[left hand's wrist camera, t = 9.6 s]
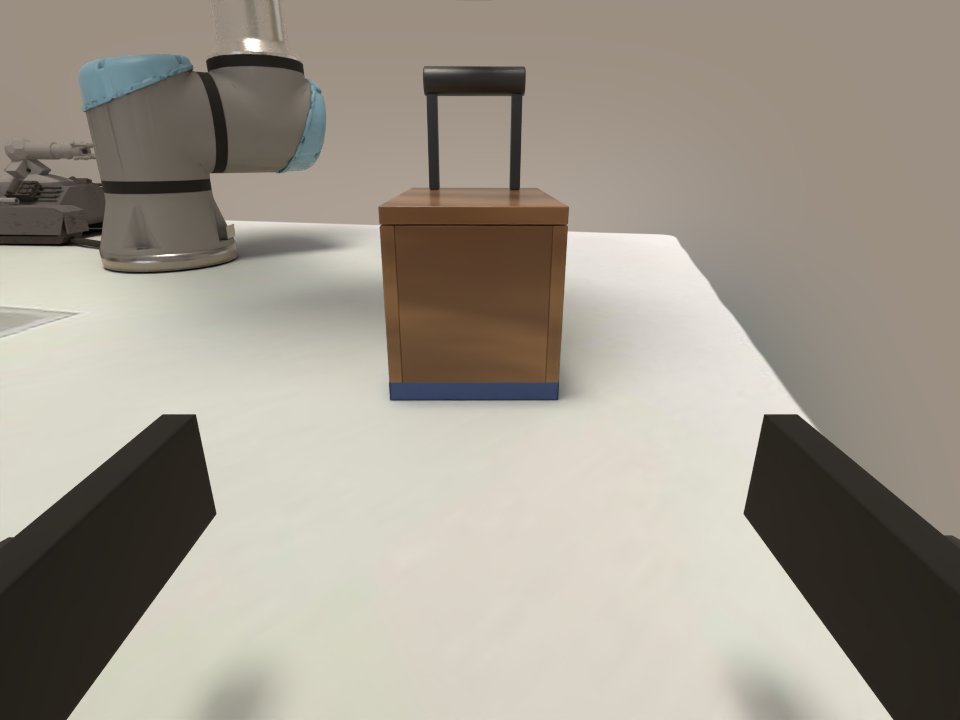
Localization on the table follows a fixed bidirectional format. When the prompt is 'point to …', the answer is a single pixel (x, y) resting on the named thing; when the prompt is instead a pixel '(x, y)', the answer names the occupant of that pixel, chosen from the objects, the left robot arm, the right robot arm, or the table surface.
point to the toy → (47, 195)
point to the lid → (474, 202)
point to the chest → (473, 310)
